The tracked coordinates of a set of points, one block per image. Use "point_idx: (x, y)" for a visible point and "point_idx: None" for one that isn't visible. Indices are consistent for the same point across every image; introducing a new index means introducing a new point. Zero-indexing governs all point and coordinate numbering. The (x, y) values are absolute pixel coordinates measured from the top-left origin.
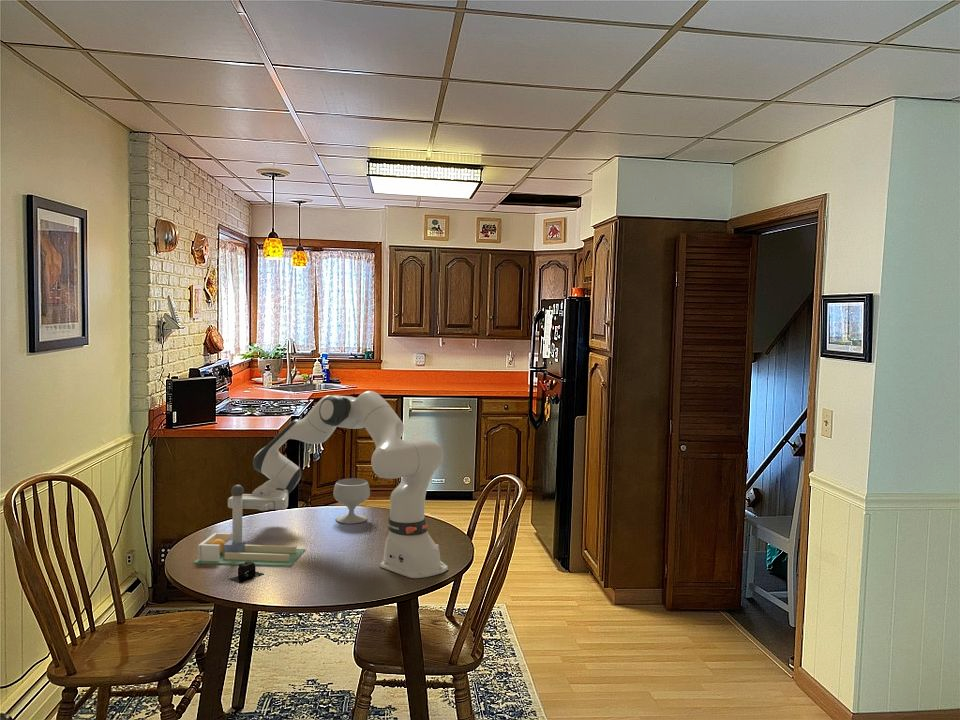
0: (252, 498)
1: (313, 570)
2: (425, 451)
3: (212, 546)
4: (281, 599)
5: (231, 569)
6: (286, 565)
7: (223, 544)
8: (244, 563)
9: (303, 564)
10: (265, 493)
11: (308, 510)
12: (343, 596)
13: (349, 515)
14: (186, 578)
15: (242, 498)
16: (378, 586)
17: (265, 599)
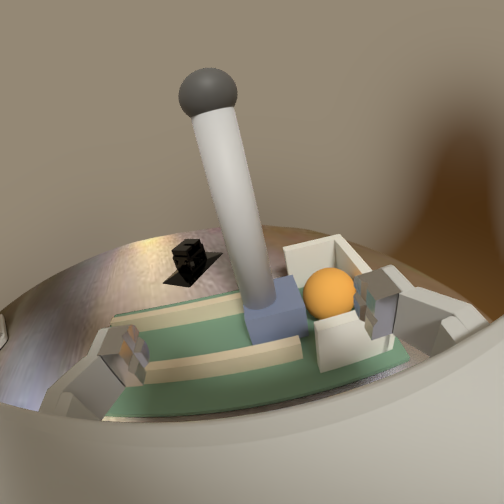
0: (322, 423)
1: (84, 314)
2: None
3: (301, 245)
4: (136, 246)
5: None
6: (124, 313)
7: (304, 286)
8: (191, 247)
9: (94, 332)
10: None
11: None
12: (75, 270)
13: None
14: (297, 234)
15: (472, 349)
16: (36, 295)
17: (153, 241)
